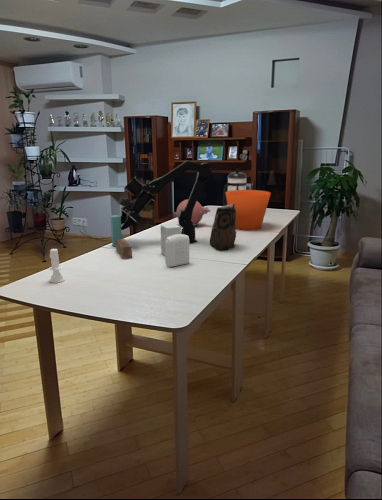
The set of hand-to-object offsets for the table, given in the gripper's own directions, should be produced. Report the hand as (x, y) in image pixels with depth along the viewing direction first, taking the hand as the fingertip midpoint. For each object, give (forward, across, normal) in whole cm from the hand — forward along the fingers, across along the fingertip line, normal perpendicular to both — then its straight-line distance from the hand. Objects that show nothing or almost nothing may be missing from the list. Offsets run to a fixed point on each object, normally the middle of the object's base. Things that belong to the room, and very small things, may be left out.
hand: (119, 227), depth 180 cm
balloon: (-27, -26, +41) cm, 56 cm away
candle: (+28, +38, -16) cm, 50 cm away
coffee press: (-55, -49, +69) cm, 101 cm away
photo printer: (-4, +38, +17) cm, 42 cm away
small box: (-6, +24, +19) cm, 31 cm away
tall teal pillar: (+7, 0, +5) cm, 9 cm away
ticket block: (+7, +15, +5) cm, 18 cm away
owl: (-24, +20, +37) cm, 49 cm away
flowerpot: (-46, -11, +60) cm, 76 cm away
